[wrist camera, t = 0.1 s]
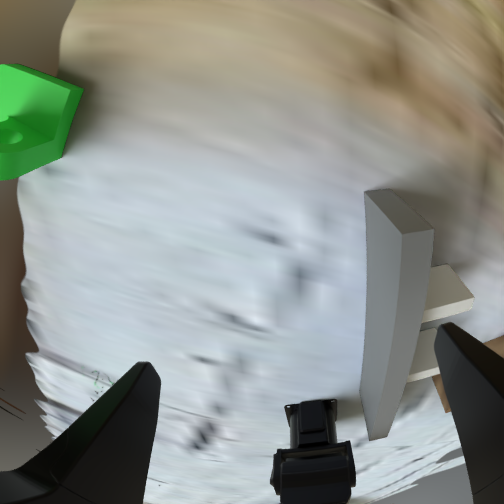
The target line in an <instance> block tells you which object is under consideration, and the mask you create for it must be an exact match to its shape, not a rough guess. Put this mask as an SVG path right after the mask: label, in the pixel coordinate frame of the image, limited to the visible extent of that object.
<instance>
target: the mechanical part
mask: <svg viewBox="0 0 504 504" xmlns="http://www.w3.org/2000/svg"><path fill="white" fill-rule="evenodd" d="M83 91H84V89H82V88H80V87H77V86H75V85H73V84H70V83H68V82H65V81H63V80H60V79H58V78H56V77H54V76H51V75H49V74H46V73H43V72H40V71H38V70H35V69H32V68H30V67H27V66H24V65H21V64H2V65H0V180H9V179H14V178H17V177H20V176H22V175H24V174H26V173H28V172H30V171H33V170H35V169H37V168H39V167H41V166H44V165H46V164H48V163H50V162H53V161H55V160H58V159H60V158H61V156H62V153H63V149H64V146H65V143H66V139H67V136H68V133H69V130H70V127H71V124H72V121H73V118H74V115H75V112H76V109H77V107H78V104H79V101H80V99H81V96H82V93H83Z"/></svg>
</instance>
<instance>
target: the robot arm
mask: <svg viewBox="0 0 504 504" xmlns="http://www.w3.org/2000/svg"><path fill="white" fill-rule="evenodd" d="M434 352H435V355H436V359H437V363H438V367H439V371H440V375H441V379H442V383H443V387H444V391H445V394H446V397H447V400H448V403H449V406H450V409H451V412H452V415H453V419H454V422H455V425H456V429H457V432H458V435H459V439H460V443H461V446H462V450H463V454H464V458H465V462H466V466H467V471H468V475H469V480H470V485H471V490H472V495H473V502H474V504H504V358H503V357H502V356H500V355H499V354H497V353H496V352H494V351H493V350H492V349H490V348H489V347H487V346H486V345H485V344H483V343H482V342H480V341H479V340H477V339H476V338H474V337H473V336H471V335H470V334H469V333H467V332H466V331H464V330H463V329H461V328H460V327H458V326H457V325H455V324H454V323H452V322H448V323H445V324H441V325H440V326H439V327H438V331H437V334H436V338H435V341H434ZM160 389H161V379H160V377H159V375H158V373H157V372H156V370H155V369H154V367H153V366H152V364H151V363H150V362H137V363H136V364H135V365H134V366H133V367H132V368H131V369H130V370H129V371H128V372H126V373H125V374H124V375H123V376H122V377H121V378H120V379H119V380H118V381H117V382H116V383H115V384H114V385H113V386H112V387H111V388H110V389H108V390H107V391H106V392H105V393H104V394H103V395H102V396H101V397H100V398H99V399H98V400H97V401H96V402H95V403H94V404H93V405H92V406H90V407H89V408H88V409H87V410H86V411H85V412H84V413H83V414H82V415H81V416H80V417H79V418H78V419H77V420H76V421H75V422H73V423H72V424H71V425H70V426H69V428H67V429H66V430H65V431H64V432H63V433H62V434H61V435H60V436H58V437H57V438H56V439H55V440H54V441H53V442H52V443H51V444H49V445H48V446H47V447H46V448H45V449H43V450H42V451H41V452H39V453H38V454H37V455H36V456H34V457H33V458H31V459H30V460H29V461H28V462H26V463H25V464H24V465H22V466H21V467H19V468H17V469H14V470H11V471H1V472H0V504H143V499H144V493H145V486H146V480H147V475H148V469H149V463H150V458H151V452H152V447H153V442H154V437H155V432H156V426H157V420H158V410H159V399H160ZM333 400H335V402H331V401H333ZM287 406H290V408H287ZM284 408H285V412H286V416H287V420H288V424H289V427H290V449H277V453H276V454H274V460H273V469H272V474H271V478H270V484H271V485H272V486H273V487H274V489H275V492H276V495H280V502H281V504H348V503H349V500H350V497H351V488H352V487H355V486H356V471H355V464H354V458H353V453H352V448H351V443H350V440H349V441H345V442H341V443H337V434H336V426H335V422H336V419H337V400H336V399H330V400H323V401H321V400H318V401H310V402H302V403H300V404H290V405H285V406H284Z"/></svg>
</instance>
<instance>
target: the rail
mask: <svg viewBox="0 0 504 504" xmlns="http://www.w3.org/2000/svg"><path fill="white" fill-rule="evenodd" d="M483 344H485V345H486V346H487V347H489V348H490V349H492V350H493V351H494V352H496V353H497V354H499V355H500V356H502V357H503V358H504V335H503V336H501V337H498V338H496V339H493V340H490V341H488V342H485V343H483ZM432 379H433V381H434V384H435V386H436V389H437V391H438V394H439V396H440V399H441V402H442V404H443V407H444V410H445V413H448V412H450V411H451V409H450V406H449V403H448V400H447V397H446V394H445V391H444V387H443V383H442V379H441V375H440V374H437V375H433V376H432Z"/></svg>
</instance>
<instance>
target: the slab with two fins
mask: <svg viewBox="0 0 504 504" xmlns="http://www.w3.org/2000/svg"><path fill="white" fill-rule="evenodd" d="M364 198H365V215H366V241H367V297H366V323H365V339H364V353H363V364H362V374H361V384H360V396H361V401H362V406H363V410H364V415H365V421H366V426H367V431H368V437H369V441H372V440H377V439H381V438H385V437H387V436H388V433H389V431H390V428H391V426H392V423H393V420H394V418H395V415H396V412H397V409H398V406H399V404H400V401H401V398H402V395H403V391H404V388H405V385H406V383H409V382H412V381H416V380H420V379H423V378H427V377H430V376H433V375H437V374H440V371H439V367H438V363H437V359H436V355H435V352H434V341H435V338H436V334H437V330H436V329H435V328H431V329H427V330H423V331H420V328H421V323H425V322H429V321H433V320H437V319H440V318H444V317H448V316H451V315H455V314H458V313H462V312H465V311H469V310H471V309H472V305H473V302H474V298H475V297H474V296H473V294H472V293H471V292H470V291H469V289H468V288H467V287H466V286H465V284H464V283H463V282H462V281H461V279H460V278H459V277H458V276H457V274H456V273H455V272H454V271H453V270H452V268H451V267H450V266H449V265H448V264H445V265H441V266H436V267H431V262H432V253H433V242H434V230H435V229H434V228H433V227H432V226H431V225H430V224H429V223H428V222H427V221H426V220H424V219H423V218H422V217H421V216H420V215H419V214H418V213H417V212H416V211H415V210H413V209H412V208H411V207H410V206H409V205H408V204H407V203H406V202H404V201H403V200H402V199H401V198H400V197H399V196H397V195H396V194H395V193H394V192H393V191H392V190H390V189H383V190H375V191H367V192H364Z"/></svg>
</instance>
